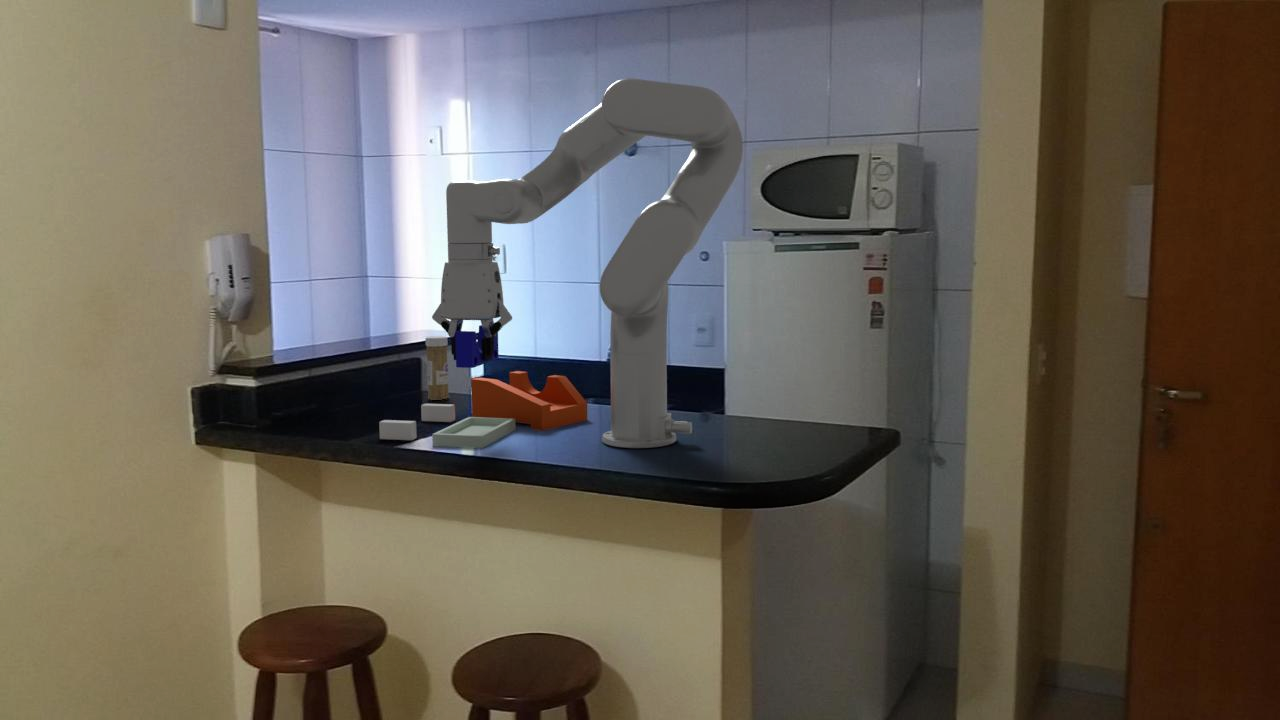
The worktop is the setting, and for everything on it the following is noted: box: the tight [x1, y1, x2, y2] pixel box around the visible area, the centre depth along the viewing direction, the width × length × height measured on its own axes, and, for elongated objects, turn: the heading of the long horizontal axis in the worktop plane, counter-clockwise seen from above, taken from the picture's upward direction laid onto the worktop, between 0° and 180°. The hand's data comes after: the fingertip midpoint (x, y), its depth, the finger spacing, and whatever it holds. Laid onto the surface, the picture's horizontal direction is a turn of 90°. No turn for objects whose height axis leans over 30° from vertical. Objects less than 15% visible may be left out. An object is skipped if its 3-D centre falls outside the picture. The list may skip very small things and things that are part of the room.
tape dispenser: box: [470, 370, 588, 432], centre depth 202 cm, size 18×13×8 cm
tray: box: [431, 416, 516, 449], centre depth 186 cm, size 9×16×2 cm, turn 167°
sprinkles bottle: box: [425, 335, 450, 401], centre depth 225 cm, size 5×5×13 cm
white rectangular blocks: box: [378, 403, 456, 441], centre depth 194 cm, size 6×19×3 cm, turn 167°
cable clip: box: [455, 324, 499, 369], centre depth 185 cm, size 12×4×6 cm, turn 167°
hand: (473, 358), depth 184 cm, fingers closed on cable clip, 4 cm apart
